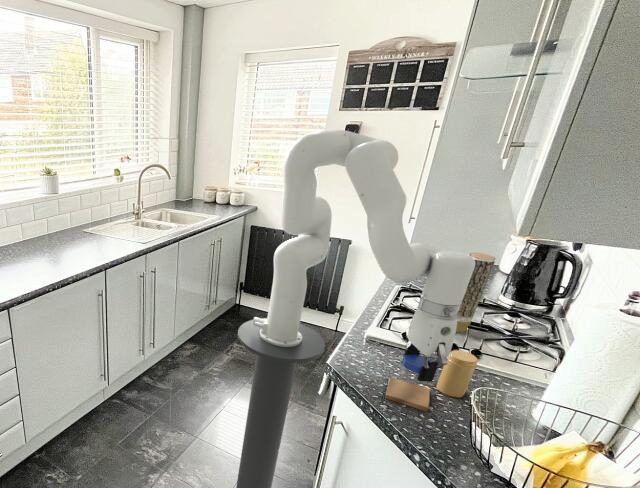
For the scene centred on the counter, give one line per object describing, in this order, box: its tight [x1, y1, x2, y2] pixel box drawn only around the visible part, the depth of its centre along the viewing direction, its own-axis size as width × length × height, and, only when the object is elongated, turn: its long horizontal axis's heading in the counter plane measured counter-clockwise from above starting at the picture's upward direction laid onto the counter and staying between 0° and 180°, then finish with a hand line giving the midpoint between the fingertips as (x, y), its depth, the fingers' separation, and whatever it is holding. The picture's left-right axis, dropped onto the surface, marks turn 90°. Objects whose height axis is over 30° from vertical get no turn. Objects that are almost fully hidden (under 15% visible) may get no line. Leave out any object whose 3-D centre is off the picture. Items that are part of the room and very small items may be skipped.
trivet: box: [384, 377, 431, 412], centre depth 106 cm, size 9×9×1 cm
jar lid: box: [401, 354, 434, 375], centre depth 102 cm, size 7×7×2 cm
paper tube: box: [456, 252, 497, 334], centre depth 133 cm, size 7×7×25 cm
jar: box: [435, 349, 479, 398], centre depth 106 cm, size 6×6×10 cm
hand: (416, 371), depth 103 cm, fingers closed on jar lid, 6 cm apart
